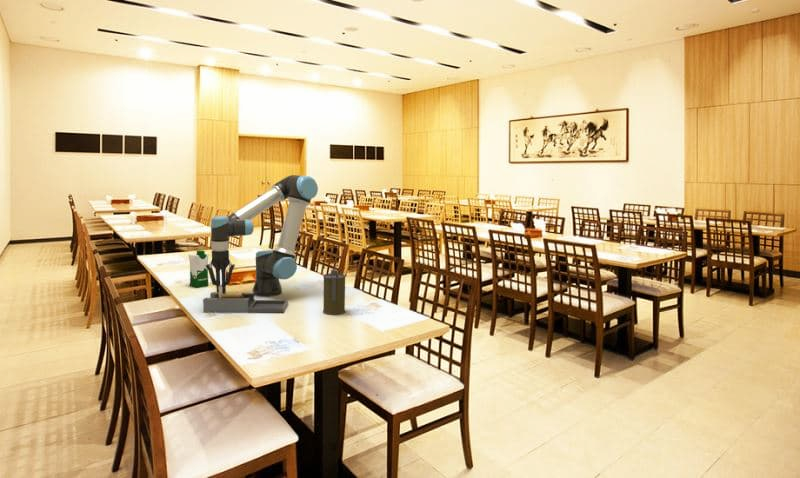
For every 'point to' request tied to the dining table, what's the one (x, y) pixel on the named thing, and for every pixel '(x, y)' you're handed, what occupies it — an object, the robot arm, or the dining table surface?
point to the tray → (268, 306)
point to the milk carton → (198, 269)
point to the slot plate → (228, 303)
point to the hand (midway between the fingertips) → (221, 299)
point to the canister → (334, 293)
